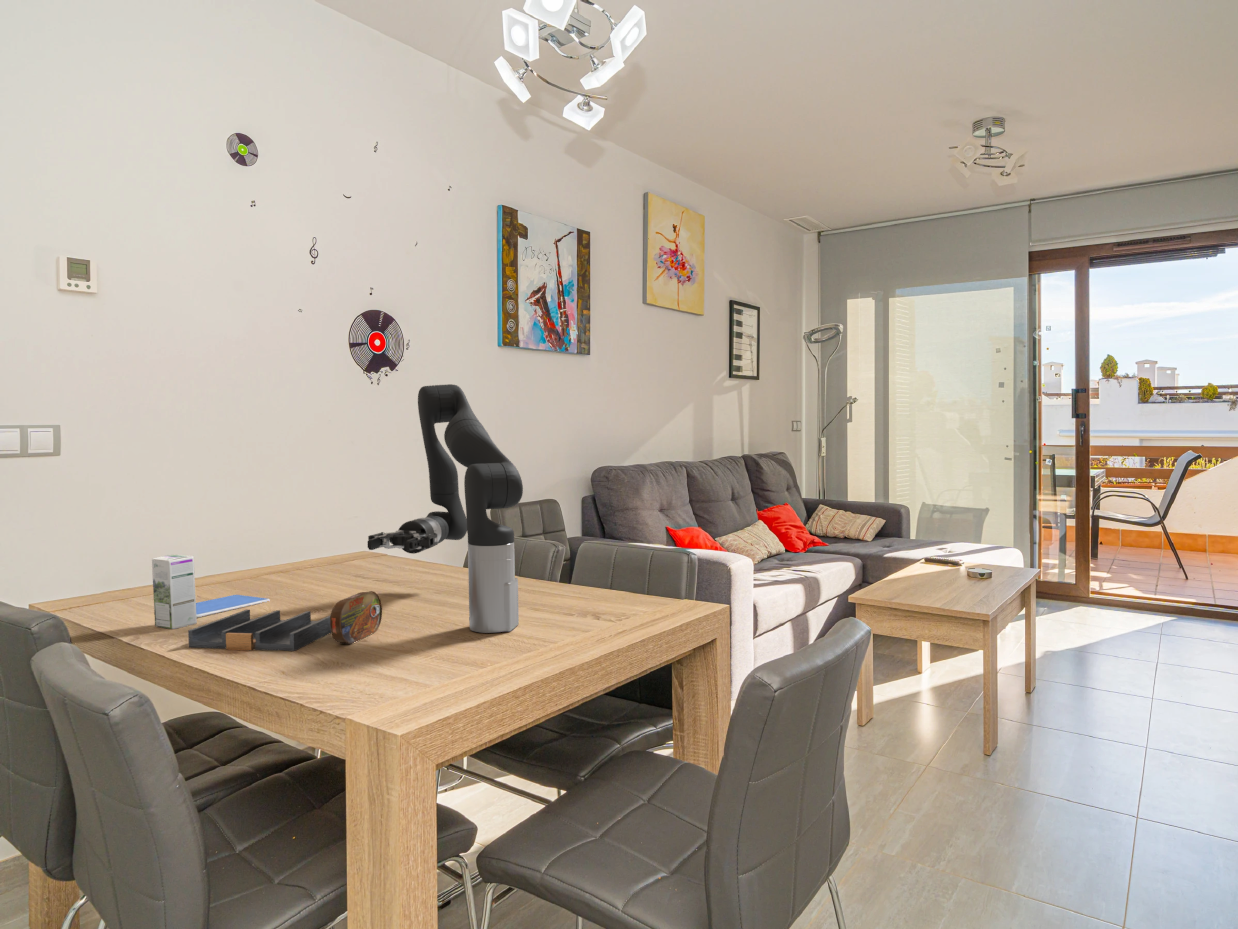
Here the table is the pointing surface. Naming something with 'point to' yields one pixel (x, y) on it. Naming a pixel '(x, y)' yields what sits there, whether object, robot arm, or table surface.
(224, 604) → the tablet computer
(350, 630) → the tin
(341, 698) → the table surface
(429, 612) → the table surface
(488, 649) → the table surface
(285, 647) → the rack
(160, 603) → the syrup box
